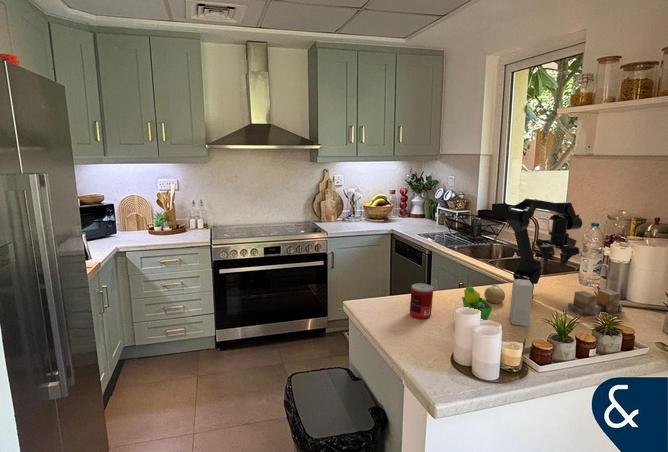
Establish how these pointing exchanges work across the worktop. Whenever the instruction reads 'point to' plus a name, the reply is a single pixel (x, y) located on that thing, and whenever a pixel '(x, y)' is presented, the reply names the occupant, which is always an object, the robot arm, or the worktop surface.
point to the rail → (580, 310)
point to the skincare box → (521, 302)
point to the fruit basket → (476, 302)
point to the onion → (494, 294)
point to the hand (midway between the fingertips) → (554, 265)
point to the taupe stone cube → (608, 299)
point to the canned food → (421, 301)
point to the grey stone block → (585, 301)
